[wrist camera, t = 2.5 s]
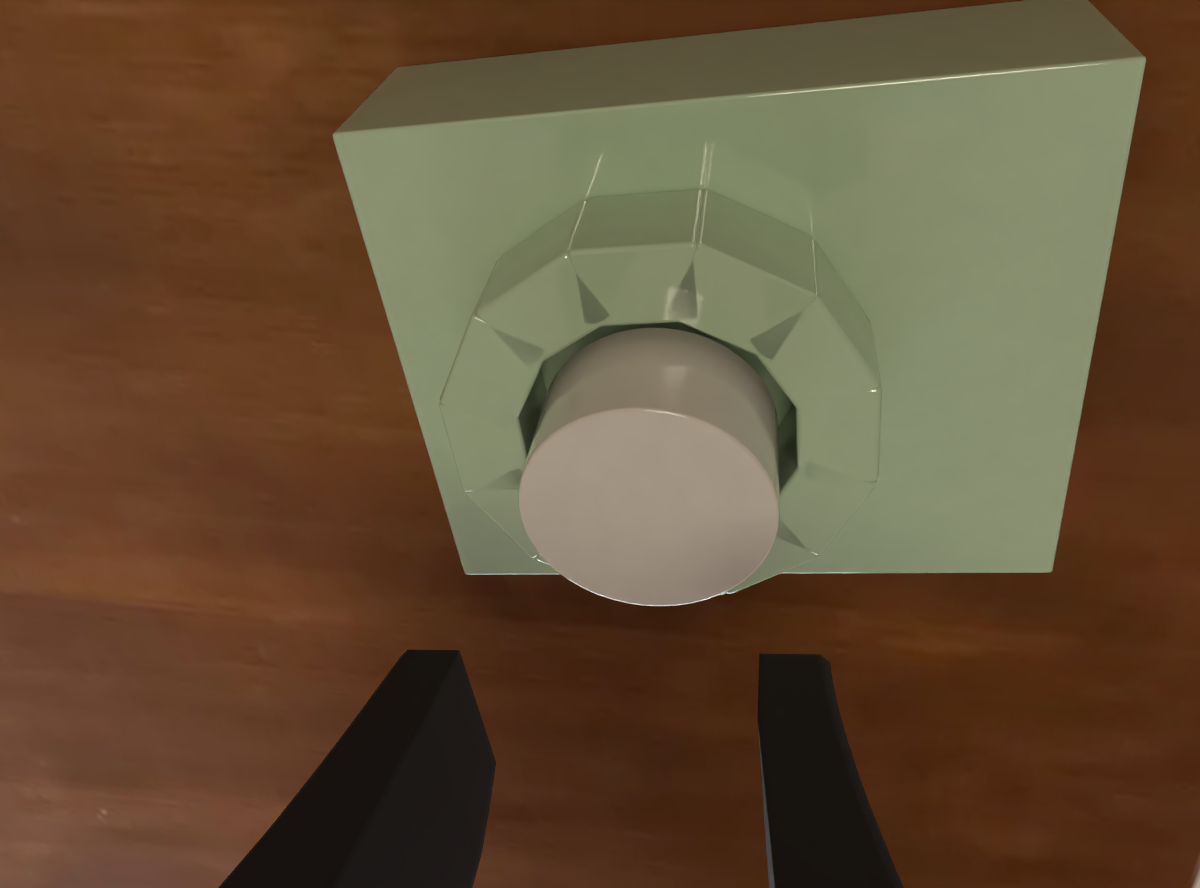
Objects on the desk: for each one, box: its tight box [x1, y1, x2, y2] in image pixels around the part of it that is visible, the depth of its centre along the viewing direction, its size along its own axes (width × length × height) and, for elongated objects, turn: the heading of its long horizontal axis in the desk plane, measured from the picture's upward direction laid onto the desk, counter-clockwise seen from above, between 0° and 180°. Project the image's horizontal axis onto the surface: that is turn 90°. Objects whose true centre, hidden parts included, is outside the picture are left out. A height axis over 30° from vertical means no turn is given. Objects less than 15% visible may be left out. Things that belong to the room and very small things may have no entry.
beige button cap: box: [518, 328, 780, 606], centre depth 14 cm, size 4×4×2 cm
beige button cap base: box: [333, 0, 1146, 595], centre depth 17 cm, size 11×9×5 cm
